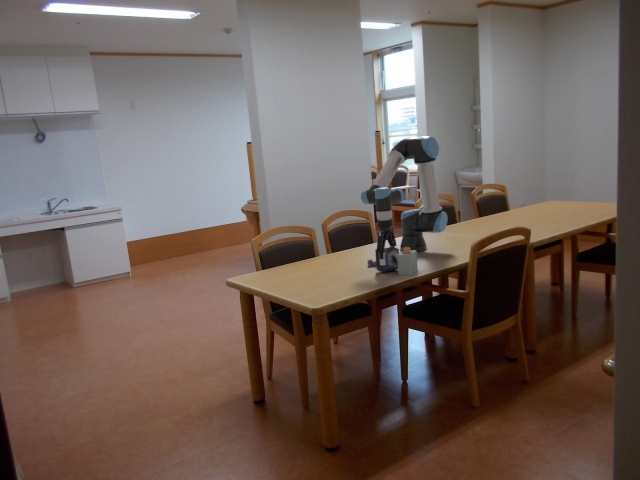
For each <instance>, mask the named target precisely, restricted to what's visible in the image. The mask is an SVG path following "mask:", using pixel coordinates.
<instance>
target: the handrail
mask: <svg viewBox="0 0 640 480" xmlns="http://www.w3.org/2000/svg"><path fill="white" fill-rule="evenodd" d="M367 267H376V260H373V259H371V258H370V259H367Z"/></svg>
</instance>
